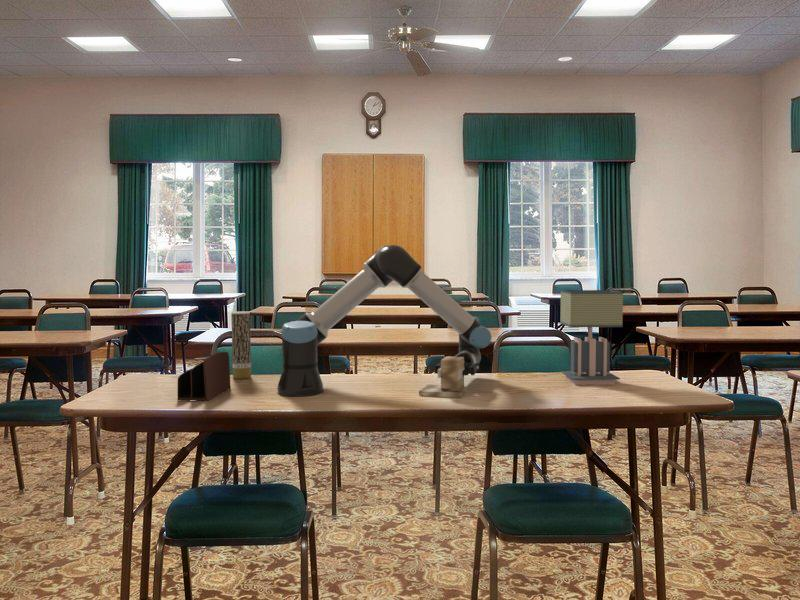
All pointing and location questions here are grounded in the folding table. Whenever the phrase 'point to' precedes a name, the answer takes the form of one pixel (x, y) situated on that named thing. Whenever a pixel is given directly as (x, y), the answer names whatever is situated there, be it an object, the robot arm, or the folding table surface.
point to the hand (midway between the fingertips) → (449, 374)
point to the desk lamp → (591, 312)
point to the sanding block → (451, 373)
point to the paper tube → (241, 344)
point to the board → (441, 392)
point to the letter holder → (205, 379)
